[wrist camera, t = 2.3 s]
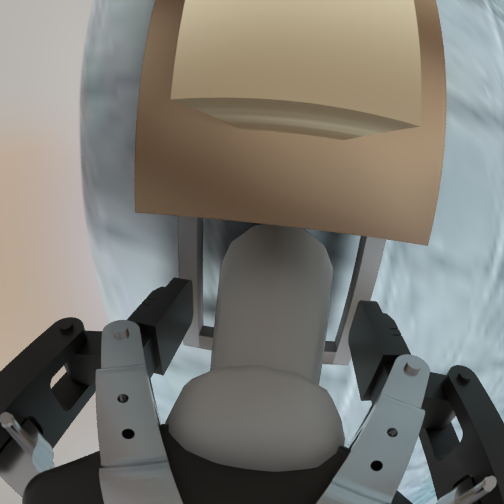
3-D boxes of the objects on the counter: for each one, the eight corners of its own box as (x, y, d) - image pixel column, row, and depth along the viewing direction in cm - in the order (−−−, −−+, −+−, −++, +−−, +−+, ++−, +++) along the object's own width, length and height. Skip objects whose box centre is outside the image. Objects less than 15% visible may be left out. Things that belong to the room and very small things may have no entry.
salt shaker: (256, 194, 15) (136, 359, 3) (345, 241, 15) (439, 450, 3) (215, 278, 17) (114, 467, 5) (296, 316, 17) (288, 520, 5)
